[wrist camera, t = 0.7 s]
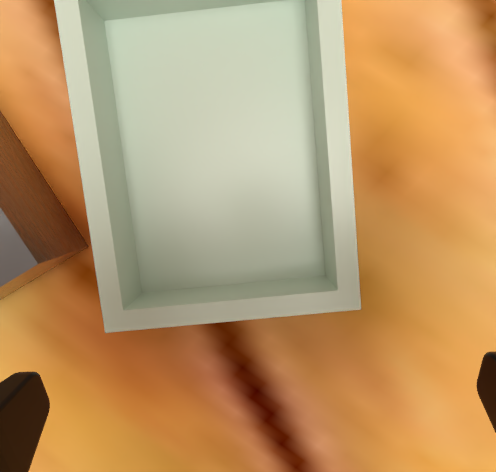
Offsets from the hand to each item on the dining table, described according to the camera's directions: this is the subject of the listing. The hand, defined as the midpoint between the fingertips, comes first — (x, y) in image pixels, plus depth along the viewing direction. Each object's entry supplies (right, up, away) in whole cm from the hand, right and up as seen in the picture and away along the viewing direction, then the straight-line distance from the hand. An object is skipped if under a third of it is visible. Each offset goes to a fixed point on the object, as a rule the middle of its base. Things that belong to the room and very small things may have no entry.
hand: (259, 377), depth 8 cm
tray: (-2, +7, +13) cm, 15 cm away
